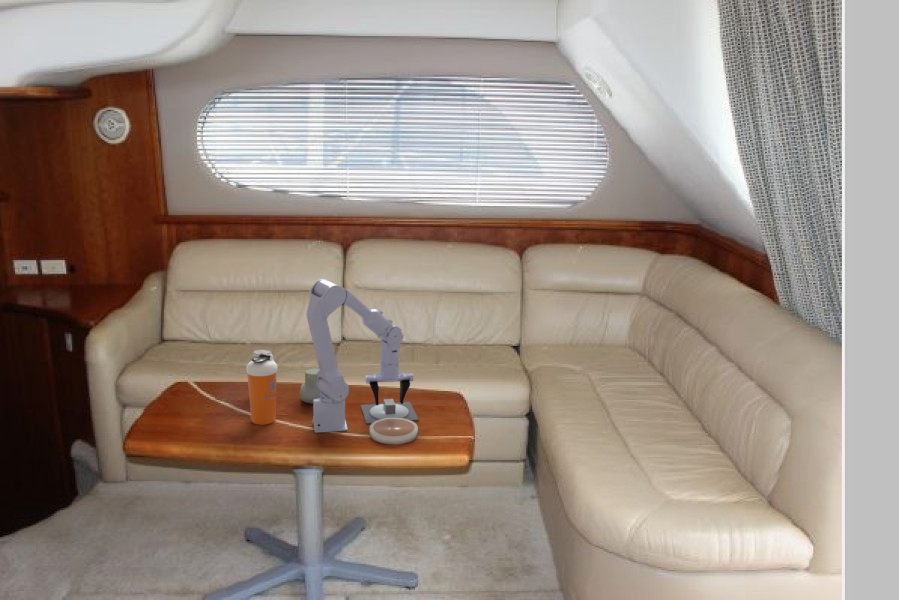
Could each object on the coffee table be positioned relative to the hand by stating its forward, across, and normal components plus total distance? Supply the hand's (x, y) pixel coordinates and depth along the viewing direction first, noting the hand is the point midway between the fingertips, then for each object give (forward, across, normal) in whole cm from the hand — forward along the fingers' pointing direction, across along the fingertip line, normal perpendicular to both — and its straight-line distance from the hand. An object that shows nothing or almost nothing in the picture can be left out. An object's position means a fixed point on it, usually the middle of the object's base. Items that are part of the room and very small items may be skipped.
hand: (389, 403), depth 226 cm
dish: (+3, -1, -15) cm, 15 cm away
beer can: (+3, -38, +21) cm, 44 cm away
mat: (+3, 0, 0) cm, 3 cm away
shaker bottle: (+3, -38, +1) cm, 38 cm away
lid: (+3, 0, 0) cm, 3 cm away
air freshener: (+4, -22, +14) cm, 26 cm away
